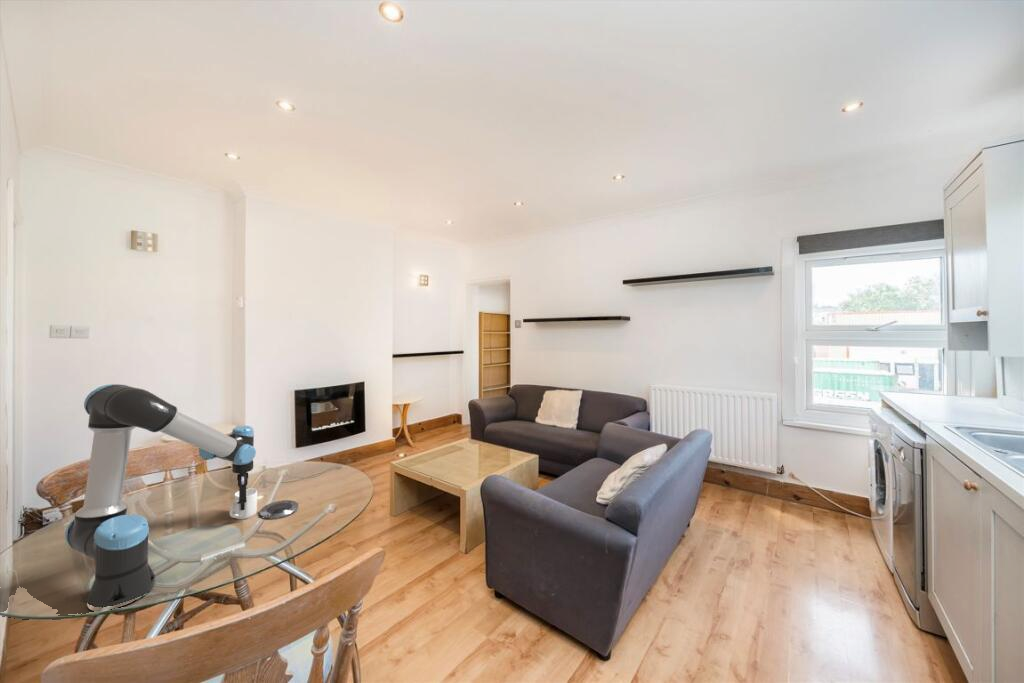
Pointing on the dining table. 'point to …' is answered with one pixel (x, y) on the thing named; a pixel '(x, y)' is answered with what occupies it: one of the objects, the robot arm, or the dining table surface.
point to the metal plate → (279, 509)
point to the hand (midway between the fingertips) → (242, 510)
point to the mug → (250, 504)
